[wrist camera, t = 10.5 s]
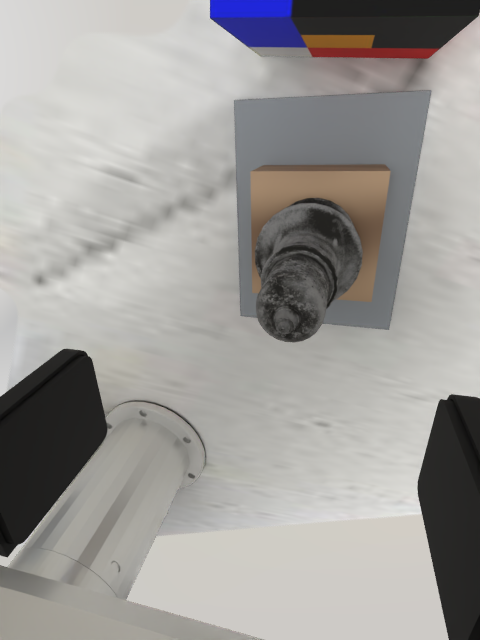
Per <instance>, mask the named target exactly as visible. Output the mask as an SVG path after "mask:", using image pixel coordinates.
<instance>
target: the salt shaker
mask: <svg viewBox="0 0 480 640" xmlns="http://www.w3.org/2000/svg"><path fill="white" fill-rule="evenodd" d="M362 255H363V250H362V245H361V241H360V237H359V235H358V233H357V231H356V229H355V227H354V224H353V222H352V220H351V219H350V217H349V215H348V214H347V213H346V212H345V211H344V210H343V208H342V207H341V206H339V205H337V204H335V203H334V202H332V201H330V200H326V199H322V198H306V199H303V200H299V201H296V202H294V203H293V204H291V205H290V206H288V207H286V208H284V209H283V210H281V211H280V212H278V213H276V214H275V215H273V216H272V218H271V219H270V220H269V221H268V222H267V223H266V224H265V225H264V226H263V228H262V230H261V232H260V234H259V236H258V238H257V242H256V247H255V265H256V268H257V271H258V274H259V277H260V278H261V290H260V292H259V293H258V296H257V300H256V315H257V318H258V321H259V323H260V324H261V326H262V327H263V329H264V330H265V331H266V332H267V333H268V334H269V335H271V336H273V337H274V338H276V339H278V340H282V341H285V342H298V341H303V340H305V339H308V338H310V337H311V336H312V335H313V334H315V333H316V332H317V330H318V329H319V328H320V326H321V325H322V323H323V321H324V318H325V314H326V309H327V308H328V307H329V306H330V304H331V303H332V302H333V301H334V300H336V299H338V298H339V297H340V296H342V295H343V294H344V293H345V292H347V291H348V290H349V289H350V287H351V286H352V285H353V283H354V282H355V280H356V279H357V277H358V274H359V271H360V269H361V266H362Z"/></svg>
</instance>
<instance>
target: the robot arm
mask: <svg viewBox="0 0 480 640" xmlns="http://www.w3.org/2000/svg"><path fill="white" fill-rule="evenodd" d="M102 442H103V444H102V445H101V443H102ZM100 445H101V447H100V448H99V449H98V447H99V446H100ZM97 449H98V450H97ZM96 450H97V452H96V453H95V454H94V452H95V451H96ZM93 454H94V456H93V457H92V458H91V459H90V457H91V456H92V455H93ZM89 459H90V461H89V462H88V463H87V461H88V460H89ZM86 463H87V465H86V466H85V467H84V468H83V466H84V465H85V464H86ZM204 463H205V452H204V448H203V445H202V442H201V441H200V439H199V437H198V435H197V434H196V433H195V431H194V430H193V429H192V428H191V426H190V425H189V424H188V423H186V422H185V421H184V420H183V419H182V418H181V417H179V416H178V415H176V414H175V413H173V412H171V411H169V410H167V409H166V408H163V407H161V406H158V405H155V404H151V403H146V402H128V403H124V404H121V405H118V406H117V407H115V408H114V409H113V410H112V411H111V412H110V413H109V414H108V415H107V416H106V418H105V414H104V410H103V405H102V401H101V397H100V392H99V388H98V384H97V379H96V375H95V371H94V366H93V362H92V359H91V358H90V357H88V355H87V353H86V352H84V351H81V350H72V349H63V350H61V351H60V352H59V353H57V354H56V355H55V356H53V357H52V358H51V359H49V360H48V361H47V362H46V363H44V364H43V365H42V366H40V367H39V368H38V369H36V370H35V371H34V372H32V373H31V374H30V375H28V376H27V377H26V378H24V379H23V380H22V381H21V382H19V383H18V384H17V385H15V386H14V387H13V388H11V389H10V390H9V391H7V392H6V393H5V394H3V395H2V396H1V397H0V555H1V556H5V557H8V556H9V555H10V554H11V552H12V551H13V550H14V548H15V547H16V546H17V545H18V544H21V543H23V542H24V541H25V540H26V539H27V538H28V537H29V535H30V534H31V533H32V531H33V530H34V529H35V528H36V526H37V525H38V524H39V523H40V521H41V520H42V519H43V517H44V516H45V515H46V514H47V512H48V511H49V510H50V509H51V507H52V506H53V505H54V503H55V502H56V501H57V500H58V498H59V497H60V496H61V494H62V493H63V492H64V491H65V489H66V488H67V487H68V486H69V484H70V483H71V482H72V480H73V479H74V478H75V477H76V475H77V474H78V473H79V472H80V470H81V469H82V468H83V470H82V471H81V472H80V474H79V475H78V476H77V477H76V479H75V480H74V481H73V483H72V484H71V485H70V487H69V488H68V489H67V490H66V492H65V493H64V494H63V496H62V497H61V498H60V499H59V501H58V502H57V503H56V505H55V506H54V507H53V508H52V510H51V511H50V512H49V514H48V515H47V516H46V517H45V519H44V520H43V521H42V523H41V524H40V525H39V526H38V528H37V529H36V530H35V532H34V533H33V534H32V536H31V537H30V538H29V539H28V541H27V542H26V543H25V545H24V546H23V547H22V548H21V550H20V551H19V552H18V554H17V555H16V556H15V558H14V559H13V560H12V561H11V563H10V564H9V565H8V567H4V566H1V565H0V640H264V639H260V638H257V637H253V636H249V635H246V634H243V633H239V632H236V631H232V630H229V629H225V628H222V627H218V626H215V625H211V624H208V623H204V622H201V621H197V620H194V619H190V618H187V617H183V616H180V615H176V614H173V613H169V612H165V611H162V610H159V609H155V608H151V607H148V606H144V605H141V604H137V603H134V602H130V601H127V600H126V599H127V597H128V595H129V592H130V590H131V588H132V586H133V584H134V582H135V580H136V577H137V575H138V573H139V571H140V569H141V567H142V565H143V562H144V561H145V558H146V556H147V554H148V552H149V550H150V548H151V546H152V543H153V542H154V539H155V537H156V535H157V533H158V531H159V529H160V527H161V525H162V522H163V520H164V518H165V517H166V516H167V514H168V510H169V508H170V506H171V503H172V501H173V499H174V497H175V495H176V493H177V491H178V489H180V488H184V487H187V486H189V485H191V484H192V483H194V482H195V481H196V480H197V479H198V477H199V476H200V474H201V472H202V469H203V467H204ZM418 497H419V501H420V506H421V511H422V515H423V520H424V525H425V530H426V534H427V539H428V543H429V548H430V553H431V557H432V562H433V567H434V572H435V576H436V581H437V586H438V590H439V595H440V600H441V604H442V609H443V614H444V619H445V623H446V628H447V633H448V638H449V640H480V399H479V398H477V397H469V396H461V395H453V394H451V395H450V396H449V397H448V399H447V400H443V399H441V400H440V401H439V403H438V407H437V410H436V414H435V418H434V422H433V426H432V429H431V433H430V437H429V441H428V445H427V448H426V452H425V456H424V460H423V464H422V467H421V471H420V475H419V479H418Z"/></svg>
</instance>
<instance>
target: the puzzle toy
mask: <svg viewBox="0 0 480 640" xmlns="http://www.w3.org/2000/svg"><path fill="white" fill-rule="evenodd" d="M479 12H480V0H210V19H212V20H213V21H214V22H216V23H217V24H218V25H220V26H221V27H222V28H224V29H225V30H226V31H228V32H229V33H230V34H232V35H233V36H234V37H236V38H237V39H238V40H240V41H241V42H242V43H244V44H245V45H246V46H247V47H249V48H250V49H251V50H253V51H254V52H255V53H257V54H258V55H259V56H281V57H356V58H429V57H430V56H432V55H433V54H434V53H435V52H436V51H438V50H439V49H440V48H441V47H442V46H443V45H445V44H446V43H447V42H448V41H449V40H451V39H452V38H453V37H454V36H455V35H457V34H458V33H459V32H460V31H461V30H462V29H464V28H465V27H466V26H467V25H468V24H470V23H471V22H472V21H473V20H474V19H475V18H477V17H478V15H479Z"/></svg>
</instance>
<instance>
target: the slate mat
mask: <svg viewBox="0 0 480 640" xmlns="http://www.w3.org/2000/svg"><path fill="white" fill-rule="evenodd" d="M430 96H431V90H428V91H408V92H388V93H368V94H348V95H328V96H308V97H288V98H268V99H248V100H234V114H235V147H236V180H237V213H238V245H239V278H240V311H241V316H246V317H257V315H256V300H257V296H258V293H252V242H251V171H252V170H254V169H257V168H259V167H261V166H263V165H365V164H385V165H386V166H387V167H388V168H389V170H390V171H391V172H390V179H389V186H388V193H387V200H386V206H385V213H384V220H383V227H382V234H381V240H380V247H379V254H378V261H377V268H376V274H375V281H374V288H373V295H372V302H364V301H351V300H338V299H336V300H334V301H333V302H332V303H331V304H330V306H329V307H328V308H327V309H326V314H325V318H324V321H323V323H322V324H332V325H343V326H354V327H364V328H375V329H386V330H389V327H390V321H391V316H392V310H393V304H394V299H395V293H396V287H397V282H398V276H399V270H400V265H401V259H402V254H403V248H404V242H405V237H406V231H407V225H408V220H409V214H410V208H411V203H412V197H413V192H414V186H415V180H416V175H417V169H418V163H419V158H420V152H421V147H422V141H423V135H424V130H425V124H426V118H427V113H428V107H429V101H430Z"/></svg>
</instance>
